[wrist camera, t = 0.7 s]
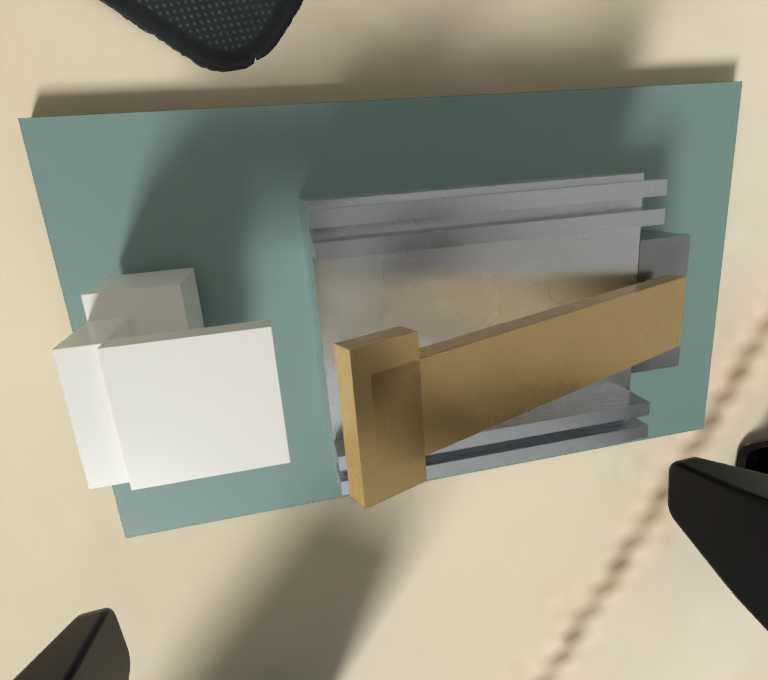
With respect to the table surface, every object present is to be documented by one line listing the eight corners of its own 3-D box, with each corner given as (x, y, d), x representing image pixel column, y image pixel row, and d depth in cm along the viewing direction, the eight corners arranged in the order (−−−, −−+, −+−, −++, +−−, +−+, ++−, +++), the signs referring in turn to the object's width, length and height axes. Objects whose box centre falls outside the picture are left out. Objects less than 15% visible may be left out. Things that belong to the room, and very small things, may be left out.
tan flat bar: (668, 255, 17) (688, 256, 16) (660, 358, 18) (678, 363, 17) (333, 343, 10) (349, 350, 10) (349, 496, 11) (365, 509, 11)
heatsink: (625, 171, 19) (726, 167, 15) (613, 385, 22) (697, 432, 18) (297, 198, 17) (309, 202, 13) (325, 433, 20) (342, 500, 16)
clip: (264, 259, 17) (266, 295, 12) (284, 397, 19) (293, 487, 13) (111, 275, 16) (35, 322, 11) (143, 418, 18) (91, 525, 12)
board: (724, 85, 20) (742, 81, 20) (689, 420, 24) (703, 428, 24) (29, 121, 16) (18, 118, 15) (130, 525, 20) (125, 538, 19)
